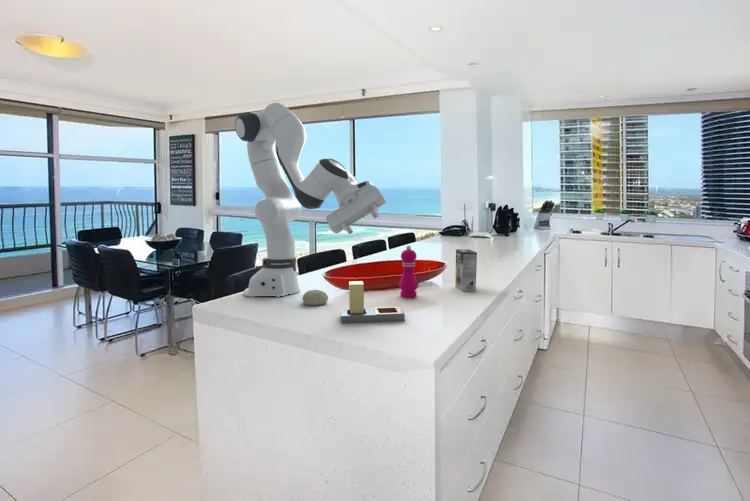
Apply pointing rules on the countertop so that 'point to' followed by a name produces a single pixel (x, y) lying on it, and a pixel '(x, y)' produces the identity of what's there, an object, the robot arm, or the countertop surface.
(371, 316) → the grey slotted board
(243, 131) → the robot arm
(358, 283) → the brass block
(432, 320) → the countertop surface
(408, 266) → the pepper mill
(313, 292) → the sea urchin shell
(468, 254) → the coffee box
